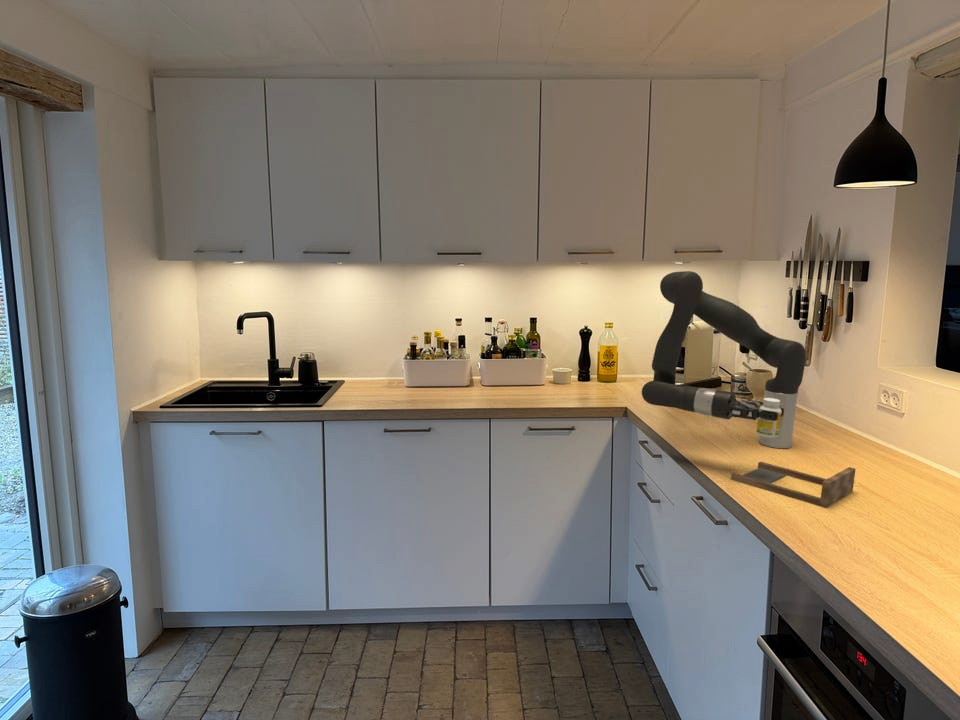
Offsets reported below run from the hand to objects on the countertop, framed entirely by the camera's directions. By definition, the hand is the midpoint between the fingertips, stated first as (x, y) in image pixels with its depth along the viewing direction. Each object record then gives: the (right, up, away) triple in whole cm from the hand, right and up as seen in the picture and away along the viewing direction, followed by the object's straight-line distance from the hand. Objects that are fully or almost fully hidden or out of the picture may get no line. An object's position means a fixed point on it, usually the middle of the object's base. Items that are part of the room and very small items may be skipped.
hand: (780, 414), depth 160 cm
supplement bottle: (-2, -6, +3) cm, 7 cm away
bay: (+2, -18, 0) cm, 18 cm away
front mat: (-3, -17, +5) cm, 18 cm away
